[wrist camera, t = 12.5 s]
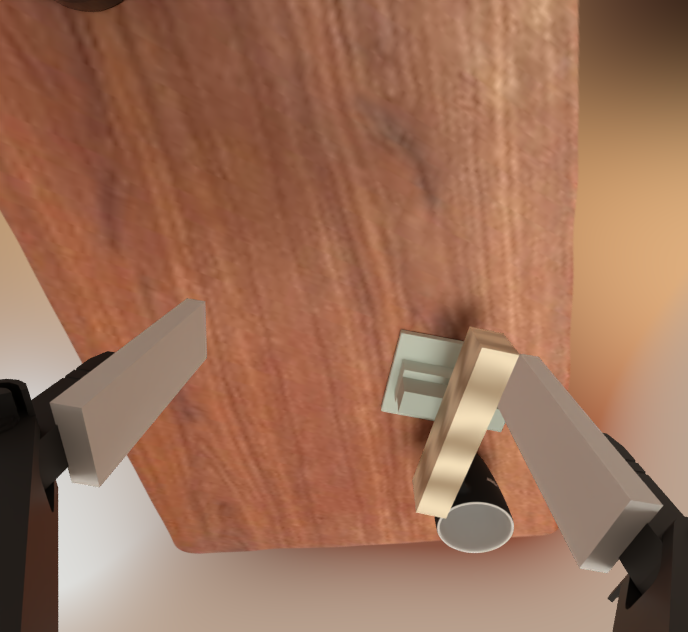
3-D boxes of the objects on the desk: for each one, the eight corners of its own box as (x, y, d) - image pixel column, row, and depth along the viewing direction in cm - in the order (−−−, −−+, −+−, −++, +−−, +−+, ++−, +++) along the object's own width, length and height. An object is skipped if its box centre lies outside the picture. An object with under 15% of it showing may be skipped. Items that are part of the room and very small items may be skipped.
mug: (495, 477, 51) (521, 546, 41) (435, 490, 53) (448, 558, 43) (474, 415, 47) (499, 476, 37) (411, 431, 49) (419, 493, 39)
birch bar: (469, 326, 35) (482, 347, 31) (503, 333, 35) (520, 355, 30) (412, 479, 43) (416, 512, 39) (439, 485, 43) (445, 518, 39)
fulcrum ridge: (400, 329, 43) (404, 355, 37) (512, 350, 42) (534, 379, 36) (381, 406, 47) (381, 440, 41) (481, 425, 47) (496, 462, 41)
